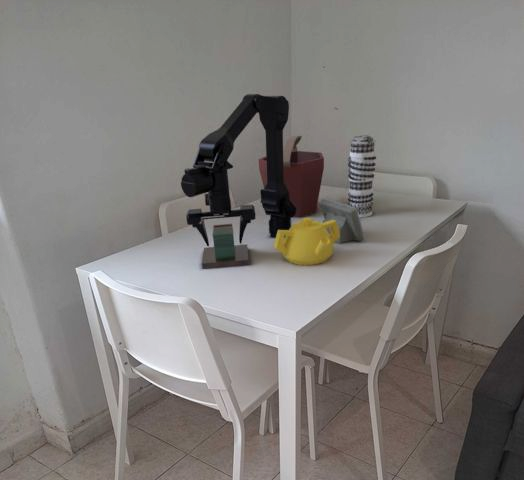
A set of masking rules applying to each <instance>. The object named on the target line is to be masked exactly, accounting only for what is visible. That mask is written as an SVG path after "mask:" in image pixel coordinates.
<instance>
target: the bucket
mask: <svg viewBox="0 0 524 480" xmlns="http://www.w3.org/2000/svg"><path fill="white" fill-rule="evenodd" d="M302 138H303V136H302V135H291V136H289V137H288V138H287V139H286V141H285V145H284V147H283V175H284V184H285V185H286V187H287V189H288V191H289V198H290V201H291V202H292V204H293V205H294V206H295V207H296V208H297V209H296V215H294V216H293V217H292V218H302V217H303V218H304V217H305V216H309V215H313V214H316V213H317V208H318V203H319V196H320V193H321V186H322V180H323V175H324V170H325V157H324V155H323V153H322V152H319V151H318V152H317V151H304V150H298V144H299V143H300V142H301V140H302ZM258 170H259V173H260V178H261V181H262V185H263V189H264V188H265V186H266V184H267V161H266V155H265V156H262V157H261V158H259V159H258Z"/></svg>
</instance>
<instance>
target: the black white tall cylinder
mask: <svg viewBox="0 0 524 480" xmlns="http://www.w3.org/2000/svg"><path fill="white" fill-rule="evenodd" d="M375 142H376V140H374V138H373V136H371V135H367V134H364V135H363V134H362V135H356V136H354V137H353V138H352V140H351V141H349V143H350V151H349V157H348V158H347V162H348V163H347V166H348V170H347V172H348V175H347V177H348V178H347V179H348V181H349V188H348V193H347V196H348V198H347V201H348V202H347V204H346V205H349V206H352V207H355V208H356V209H357V211H358V215H359V218H367V217H370V216H372V215H373V212H372V211H373V205H374V203H373V200H374V198H373V196H374V192H373V191H374V190H373V189H374V187H373V181H374V180H375V174H374V171H376V167H375V166H376V163H375V162H374V161H375V160H376V159H377V156H376V152H375V151H376V150H375Z"/></svg>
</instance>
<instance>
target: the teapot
mask: <svg viewBox="0 0 524 480" xmlns="http://www.w3.org/2000/svg"><path fill="white" fill-rule="evenodd" d="M329 227H330V230H331V234H330V235H329V233H328V231H327V230H326V229H327V228H329ZM284 235H285V237H284ZM339 237H340V232H339V229H338V226H337V223H336V221H335V220H333V219H332V220H330V221H327V222H324V223H322V222H320V221H316V220H313V218H312V217H303V218H301V221H297V222H294V223H292V224H291V228H290V229H289V230H278V231H277V235H276V237H275V240H274V242H273V248H274V249H275V250H277V251H278V252H280V253H281V254H282V255H283V257H284V258H285V259H287V261H288V262H290V263H291V264H294V265H299V266H313V265H318V264H322V263H325V262H327V260H328V259H330V257H332V255H333V253H334V244H335V243H336V242H337V241H336V240H337V239H338V238H339Z"/></svg>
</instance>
